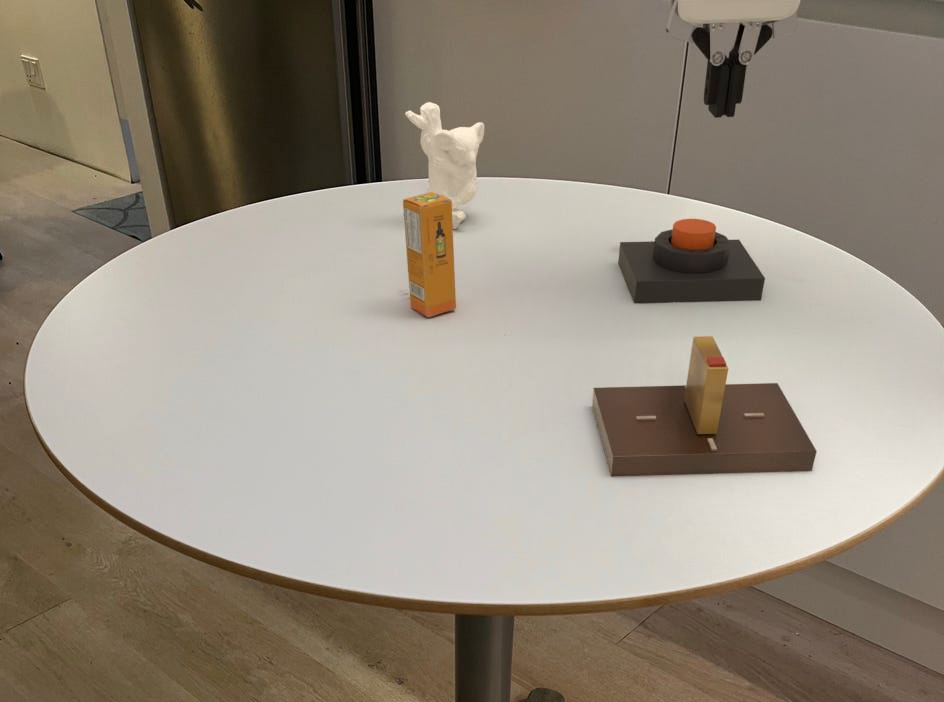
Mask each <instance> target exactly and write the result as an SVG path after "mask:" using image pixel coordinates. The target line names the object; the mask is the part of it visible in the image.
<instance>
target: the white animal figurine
mask: <svg viewBox="0 0 944 702" xmlns="http://www.w3.org/2000/svg"><path fill="white" fill-rule="evenodd" d="M440 108H441V107H440V106H439V105H438V104H437V103H435V102H431V101H428V102H426V103H424V104H422V105H421V106H420V108H419V111H420V114H417V113H415V112H413V110H410V109H409V110H408V111H405V113H404V115H405V117H406V118H407V119H408V120H409V122H411V123H412V124H413V125H414V126H416V127H417V128H418V129H420V130H421V133H420V142H419V143H420V147H421V150H422V152H424V154H425V155H426V156H427V160H428V165H427V169H428V176H427V177H428V180H427V182H428V189H427V191H426V193H429V192H433V193H436V194H439V195H442V196H444V197H446V198H449V199H451V200H452V223H453V230H456V229H458V228H459V227H460V225H461V223H462V222H463V221H465V219H466V218H467V212H466V211H465V210H463V209H459V208H458V207H460V206H464V205H467V204H468V203H470V202H472V200H474V199H475V198H476V195H477V191H478V190H477V189H478V188H477V177H478V176H477V175H478V172H477V165H476V163H477V156H478V153H479V148H480V144H481V143H482V142H483V140H484V136H485V124H484V122H482V121H481V122H479V121H478V122H476V123H475V124H473V125H472V126H469V127H468V126H466V127H465V126H458V127H456V128H452V129H450V130H449V129H448V130H447V129H443V128H442V120H441V109H440Z"/></svg>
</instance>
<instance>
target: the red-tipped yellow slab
mask: <svg viewBox="0 0 944 702" xmlns="http://www.w3.org/2000/svg"><path fill="white" fill-rule="evenodd" d="M728 373H729V367H728V365H727V362H726V360H725V357H724V356H723V355H722V352H721V349H720V348H719V346H718V344H717V342H716V340H715V338H714V336H712V335H707V336H706V335H703V336H693V339H692V344H691V352H690V359H689V365H688V371H687V376H686V377H687V378H686V391H685V398H684V401H685V404H686V406H687V409H688V411H689V414H690V416H691V419H692V421H693V424H694V427H695V429H696V432H697V434H717V430H718V424H719V419H720V413H721V407H722V402H723V396H724V390H725V385H726V384H727V379H728Z"/></svg>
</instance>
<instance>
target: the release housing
mask: <svg viewBox="0 0 944 702" xmlns="http://www.w3.org/2000/svg"><path fill="white" fill-rule="evenodd" d="M672 230H673V228H672V229H667V230H664V231H661V232H660V233H659V234H657V236H655V238H654V241H652V240H651V241H620V242H619V248H618V249H619V251H618V263H617V264H618V267H619V269H620V271H621V274H622V276H623V279H624V282H625V284H626V286H627V289H628V291H629V294H630V297H631V299H632V302H633V304H636V305H637V304H671V303H672V304H673V303H674V302H675V303H678V302H679V303H710V302H711V303H715V302H716V303H717V302H757V301H762V297H763V292H764V286H765V282H766V278H765V276H764V274H763V273H762V271H761V270H760V268H759V267H758V265H757V264H756V263H755V261H754V259H753V258H752V256H751V255H750V253H749V252H748V250H747V249H746V247H745V246H744V244H743V243H742V242H741V240H740V239H729V238H728V237H727V236H726V235H724V234H722V233H719V232H717V231H716V232H715V239H714V245H713V247H711V248H708V249H699V250H690V249H684V248H678V247H676V246H674V245H672V244H671V238H672ZM675 303H674V304H675ZM679 303H678V304H679Z"/></svg>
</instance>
